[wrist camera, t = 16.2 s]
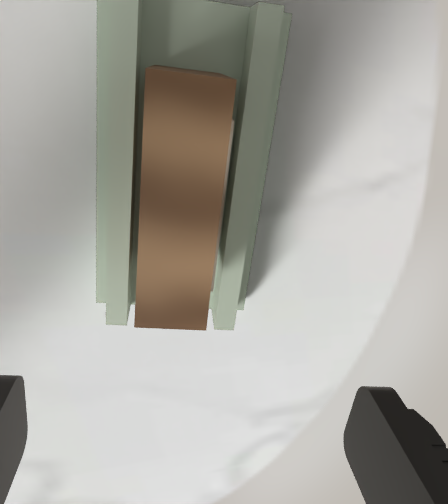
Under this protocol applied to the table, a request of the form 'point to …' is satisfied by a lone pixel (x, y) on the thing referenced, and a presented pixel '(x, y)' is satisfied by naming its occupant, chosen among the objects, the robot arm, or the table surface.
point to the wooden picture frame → (181, 194)
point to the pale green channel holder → (131, 129)
